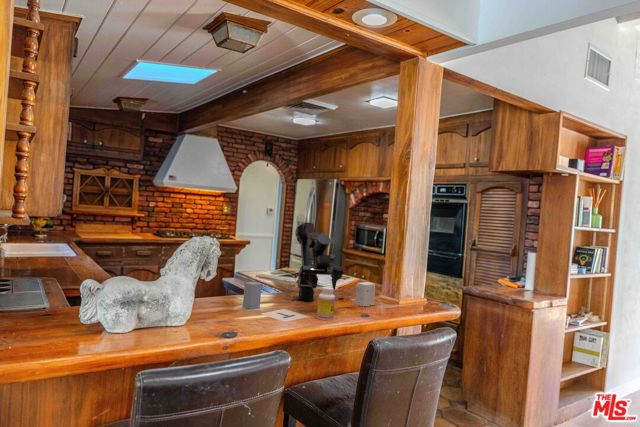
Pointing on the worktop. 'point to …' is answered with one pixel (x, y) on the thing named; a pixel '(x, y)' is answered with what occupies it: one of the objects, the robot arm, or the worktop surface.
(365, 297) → the small box
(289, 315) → the pad
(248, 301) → the gray block
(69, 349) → the worktop surface
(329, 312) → the supplement bottle
